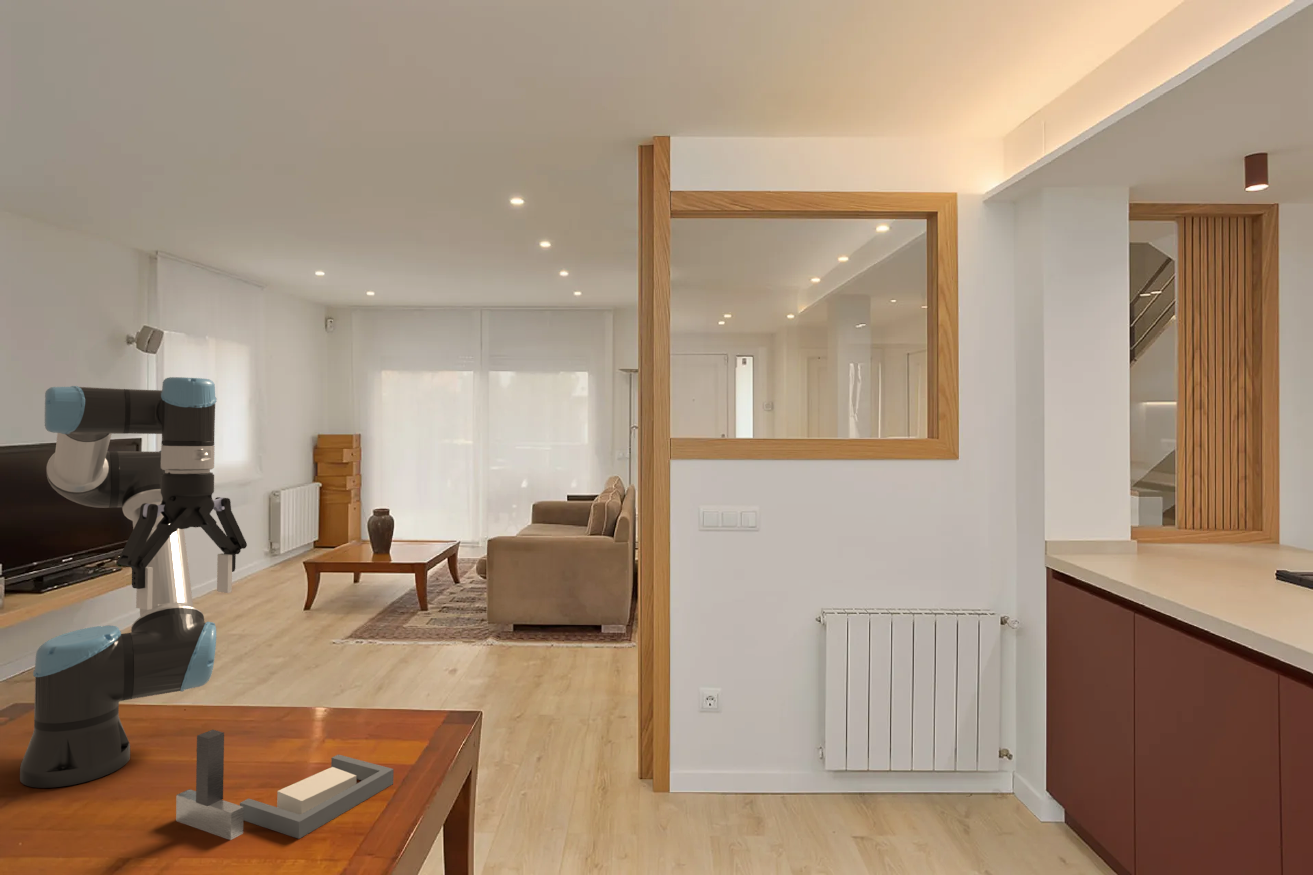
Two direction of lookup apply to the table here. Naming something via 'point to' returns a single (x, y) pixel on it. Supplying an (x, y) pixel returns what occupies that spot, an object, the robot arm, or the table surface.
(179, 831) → the table surface
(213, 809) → the grey inverted t block
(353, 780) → the cream tile
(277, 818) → the frame
